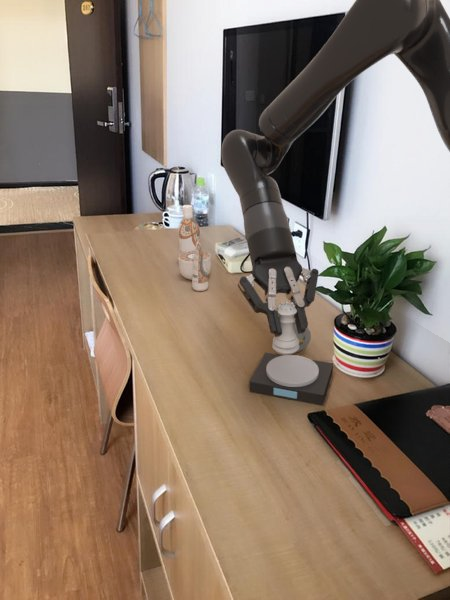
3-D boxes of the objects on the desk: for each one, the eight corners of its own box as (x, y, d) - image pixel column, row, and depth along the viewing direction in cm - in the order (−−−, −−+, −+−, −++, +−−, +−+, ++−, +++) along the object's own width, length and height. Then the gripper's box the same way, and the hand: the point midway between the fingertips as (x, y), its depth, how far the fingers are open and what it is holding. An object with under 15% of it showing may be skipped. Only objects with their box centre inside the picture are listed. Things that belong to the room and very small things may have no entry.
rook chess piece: (268, 353, 81) (269, 309, 78) (276, 339, 85) (276, 297, 82) (295, 357, 80) (297, 313, 76) (302, 344, 84) (303, 301, 80)
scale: (332, 373, 100) (333, 359, 99) (322, 406, 91) (323, 391, 89) (264, 362, 105) (265, 348, 103) (248, 392, 95) (248, 378, 94)
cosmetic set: (219, 292, 137) (216, 225, 129) (185, 295, 136) (180, 228, 127) (204, 260, 159) (201, 201, 151) (175, 263, 158) (170, 204, 150)
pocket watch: (288, 336, 114) (289, 296, 110) (318, 349, 108) (320, 308, 104) (263, 349, 109) (263, 308, 105) (293, 364, 104) (294, 321, 99)
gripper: (231, 229, 80) (251, 333, 74) (314, 221, 82) (340, 321, 77) (224, 250, 87) (243, 346, 81) (302, 241, 89) (325, 334, 84)
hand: (290, 333), depth 79 cm, fingers closed on rook chess piece, 3 cm apart
